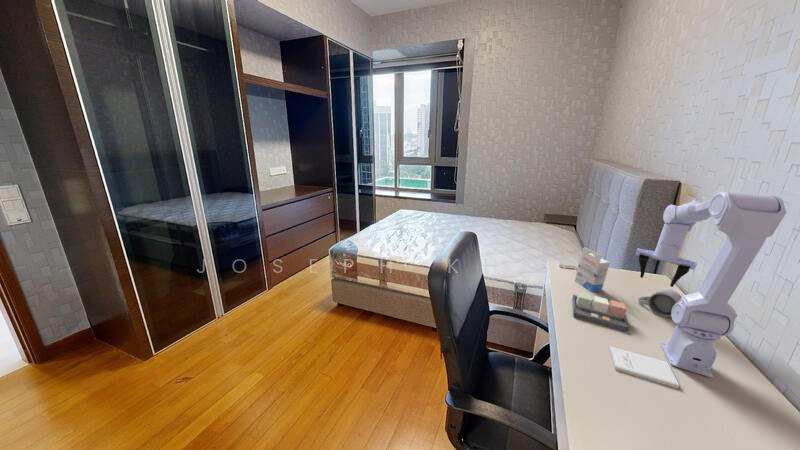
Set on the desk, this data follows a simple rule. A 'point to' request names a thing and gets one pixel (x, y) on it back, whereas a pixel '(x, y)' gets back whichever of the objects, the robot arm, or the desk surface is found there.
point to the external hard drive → (643, 367)
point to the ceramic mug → (661, 301)
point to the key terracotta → (617, 309)
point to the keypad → (599, 316)
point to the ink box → (591, 270)
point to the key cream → (600, 304)
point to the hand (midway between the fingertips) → (656, 281)
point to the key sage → (584, 300)
